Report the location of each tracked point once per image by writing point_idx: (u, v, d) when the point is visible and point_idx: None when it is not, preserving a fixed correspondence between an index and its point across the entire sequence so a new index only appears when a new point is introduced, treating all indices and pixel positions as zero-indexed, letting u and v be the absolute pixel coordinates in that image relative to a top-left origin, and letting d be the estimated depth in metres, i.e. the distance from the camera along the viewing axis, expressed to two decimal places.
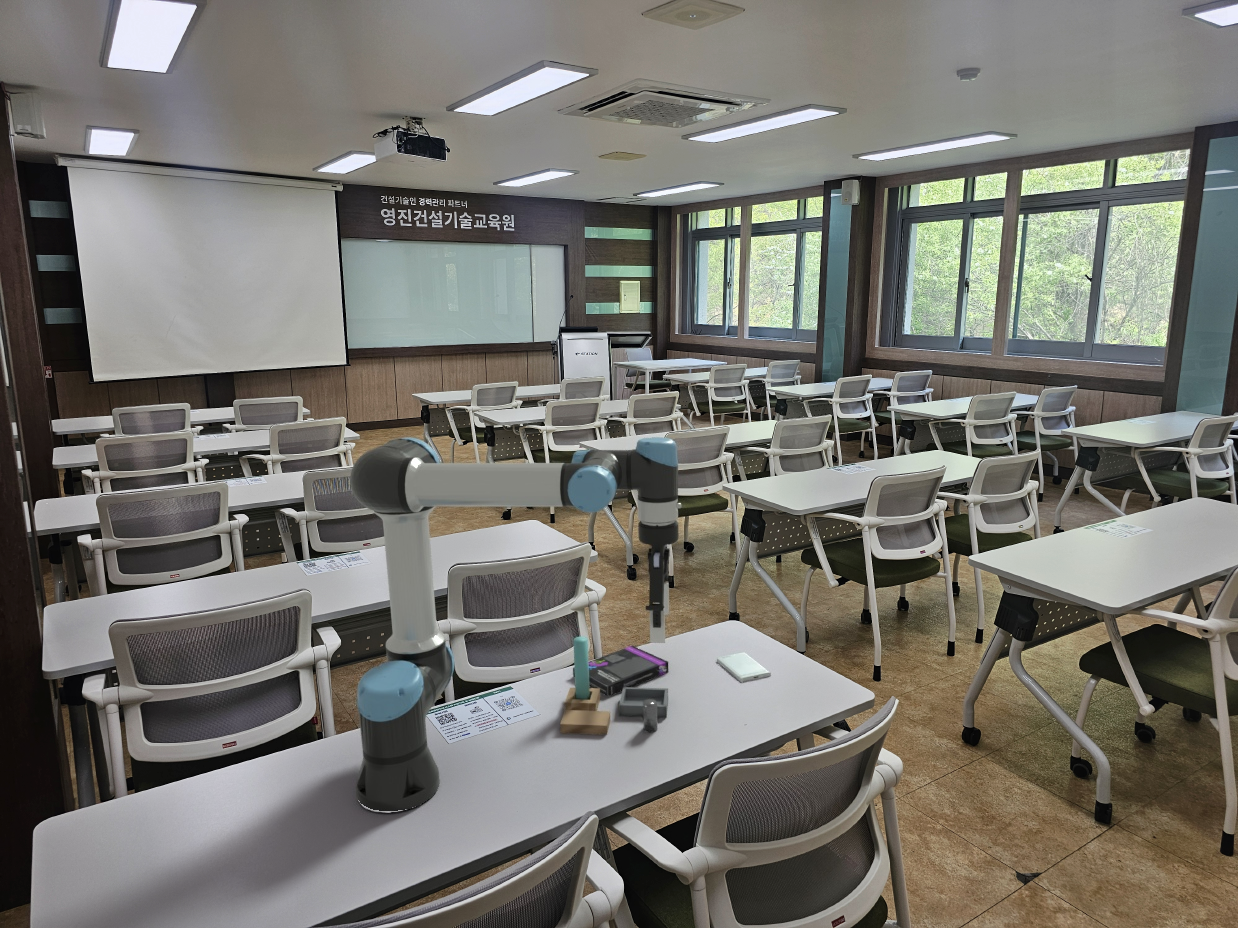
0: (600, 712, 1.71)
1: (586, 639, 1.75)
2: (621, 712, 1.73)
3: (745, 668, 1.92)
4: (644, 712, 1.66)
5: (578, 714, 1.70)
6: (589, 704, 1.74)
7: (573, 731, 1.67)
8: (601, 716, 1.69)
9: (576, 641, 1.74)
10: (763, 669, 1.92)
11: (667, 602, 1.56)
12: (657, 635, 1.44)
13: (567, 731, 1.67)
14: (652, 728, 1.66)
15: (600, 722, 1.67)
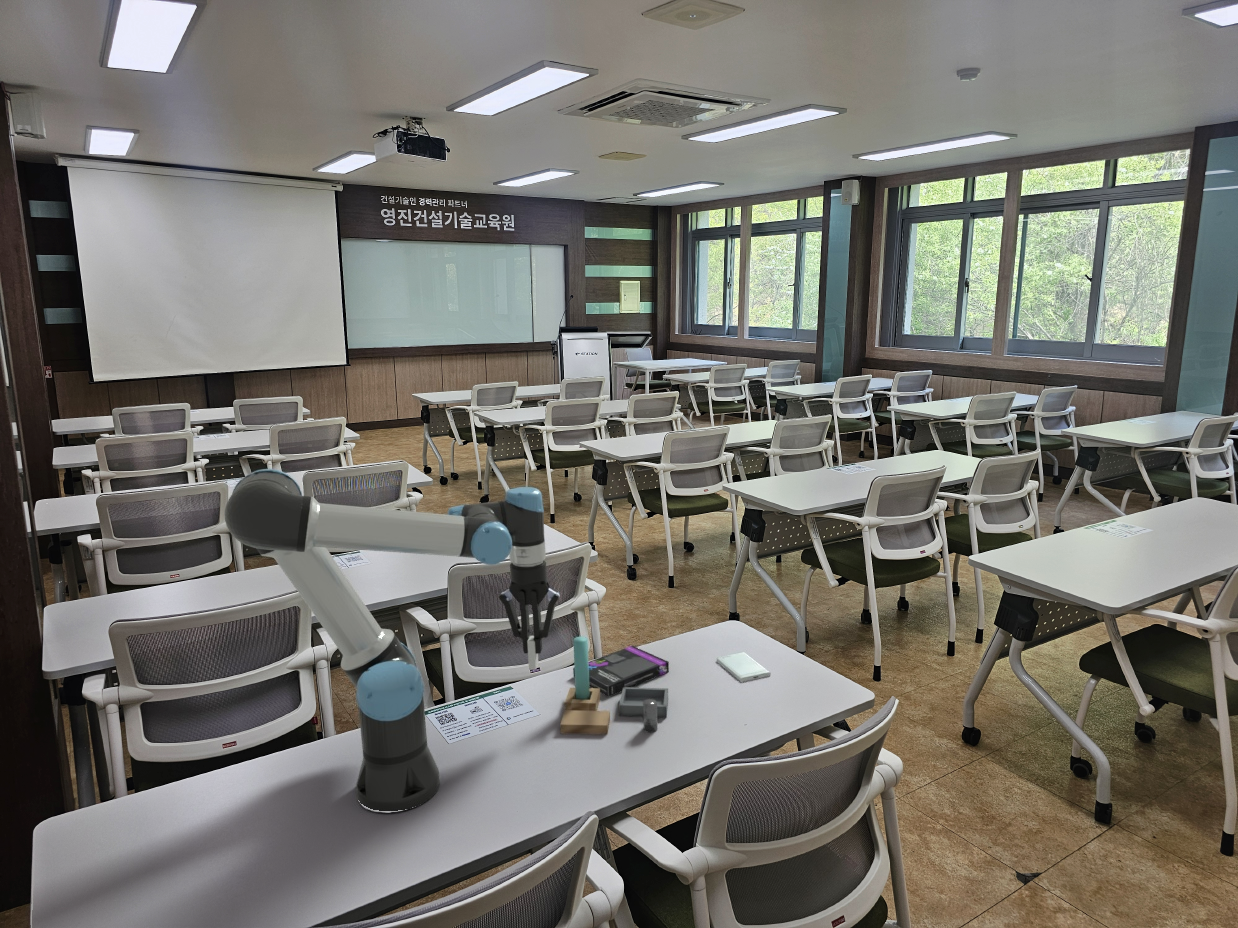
0: (600, 712, 1.71)
1: (586, 639, 1.75)
2: (621, 712, 1.73)
3: (745, 668, 1.92)
4: (644, 712, 1.66)
5: (578, 714, 1.70)
6: (589, 704, 1.74)
7: (574, 731, 1.67)
8: (601, 716, 1.69)
9: (576, 641, 1.74)
10: (763, 669, 1.92)
11: None
12: None
13: (567, 731, 1.67)
14: (652, 728, 1.66)
15: (600, 722, 1.67)
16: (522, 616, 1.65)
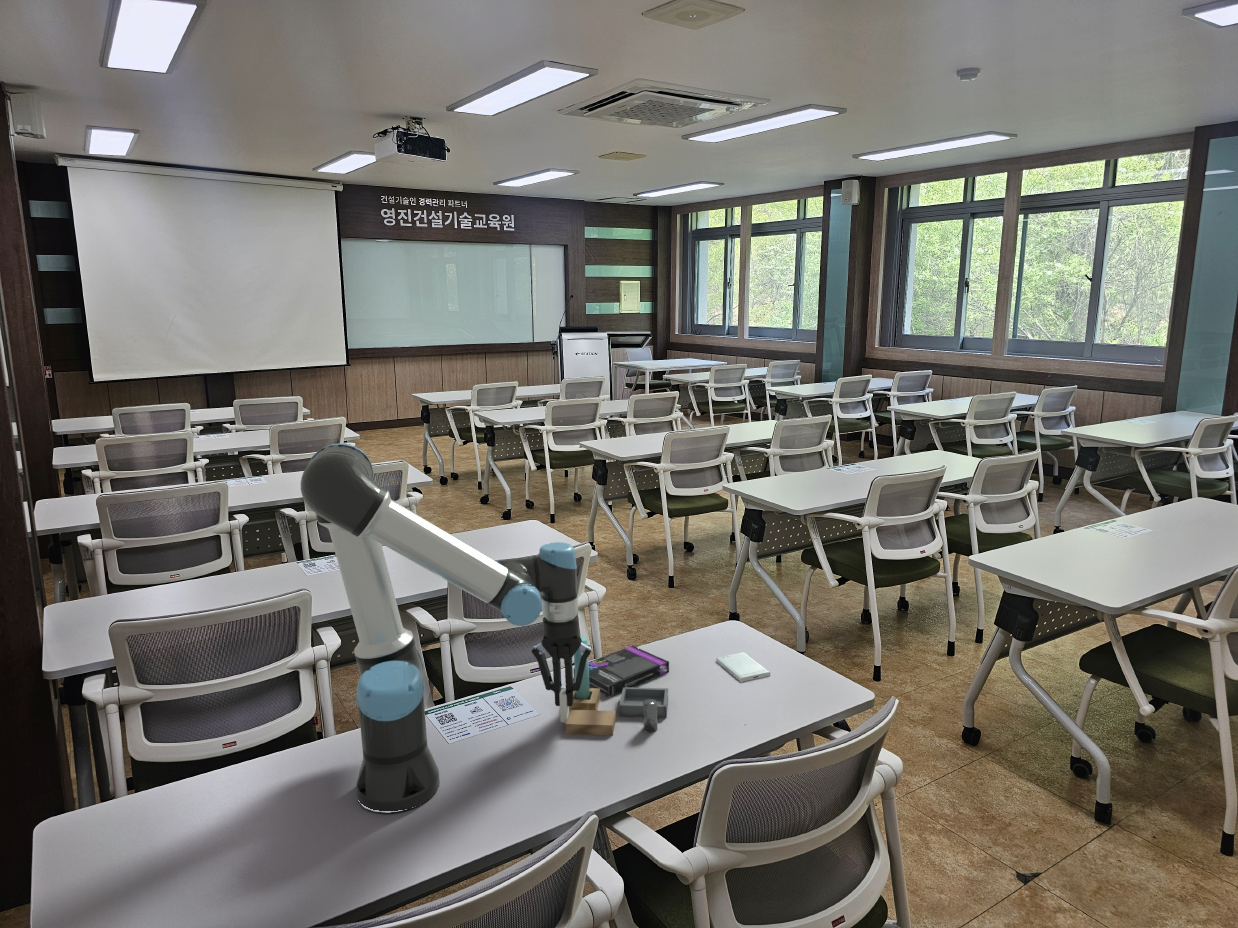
0: (605, 712, 1.71)
1: (586, 639, 1.75)
2: (621, 712, 1.73)
3: (744, 668, 1.92)
4: (644, 712, 1.66)
5: (583, 714, 1.70)
6: (589, 704, 1.74)
7: (579, 731, 1.66)
8: (606, 716, 1.69)
9: None
10: (763, 669, 1.92)
11: None
12: None
13: (572, 731, 1.66)
14: (652, 728, 1.66)
15: (605, 722, 1.66)
16: (554, 670, 1.66)
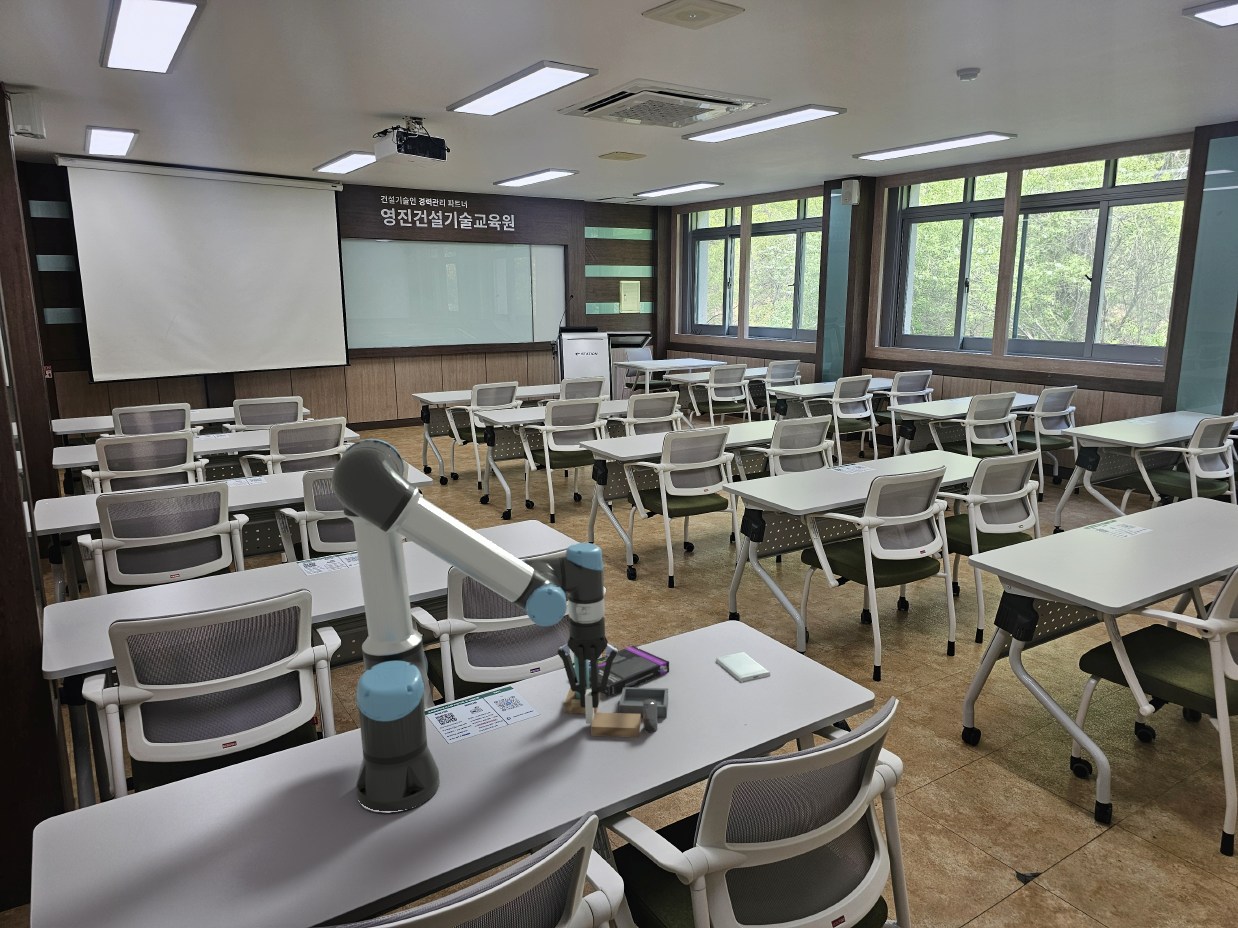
0: (630, 714, 1.70)
1: None
2: (621, 712, 1.73)
3: (744, 668, 1.92)
4: (644, 712, 1.66)
5: (608, 716, 1.69)
6: None
7: (604, 734, 1.65)
8: (631, 718, 1.68)
9: None
10: (763, 669, 1.92)
11: None
12: None
13: (598, 734, 1.66)
14: (652, 728, 1.66)
15: (631, 724, 1.66)
16: (580, 671, 1.66)
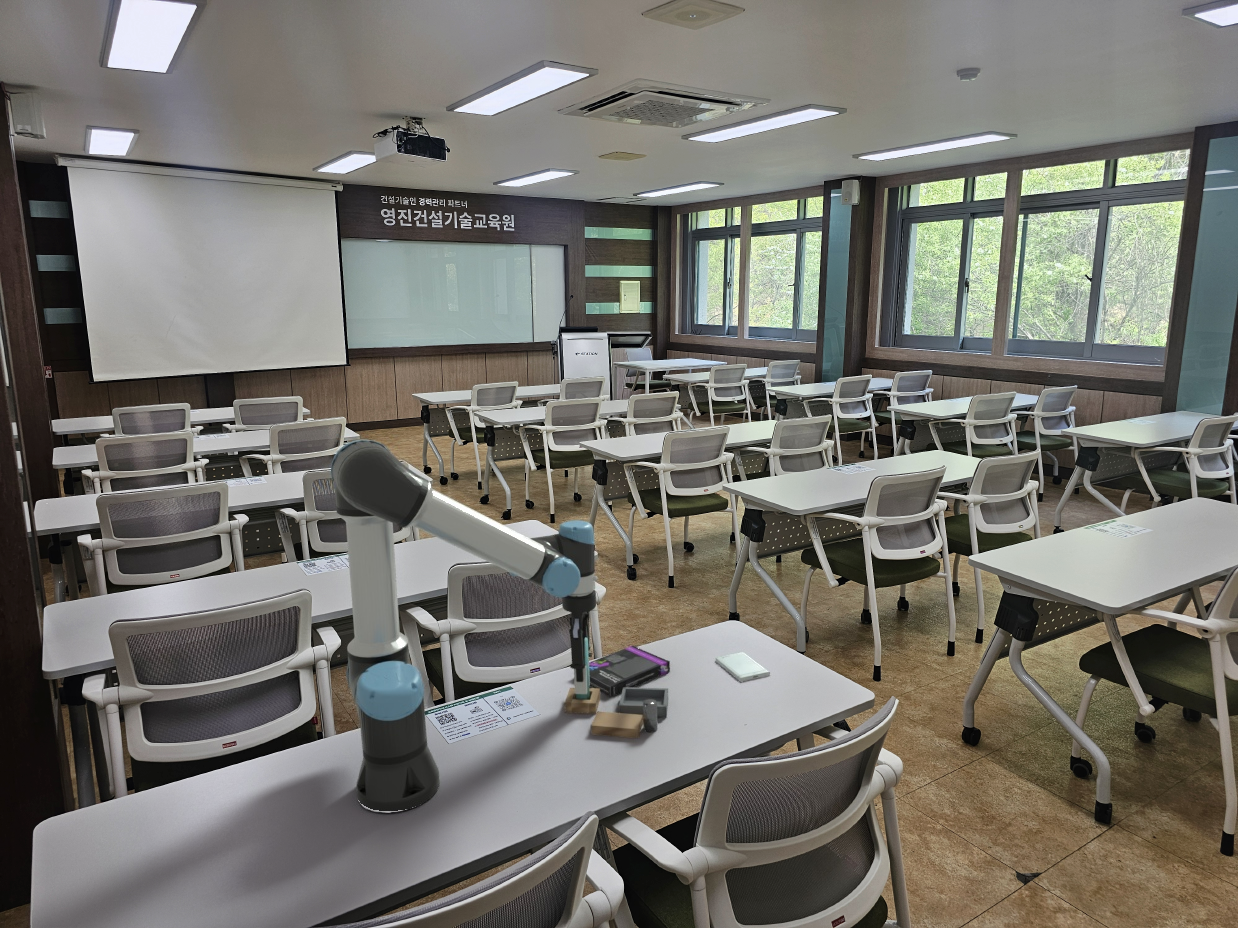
0: (632, 715, 1.69)
1: (586, 639, 1.75)
2: (621, 712, 1.73)
3: (744, 668, 1.93)
4: (644, 712, 1.66)
5: (610, 716, 1.69)
6: (589, 704, 1.74)
7: (604, 733, 1.66)
8: (632, 719, 1.68)
9: None
10: (762, 668, 1.92)
11: None
12: (580, 687, 1.75)
13: (598, 733, 1.66)
14: (652, 728, 1.66)
15: (631, 725, 1.65)
16: (584, 644, 1.73)
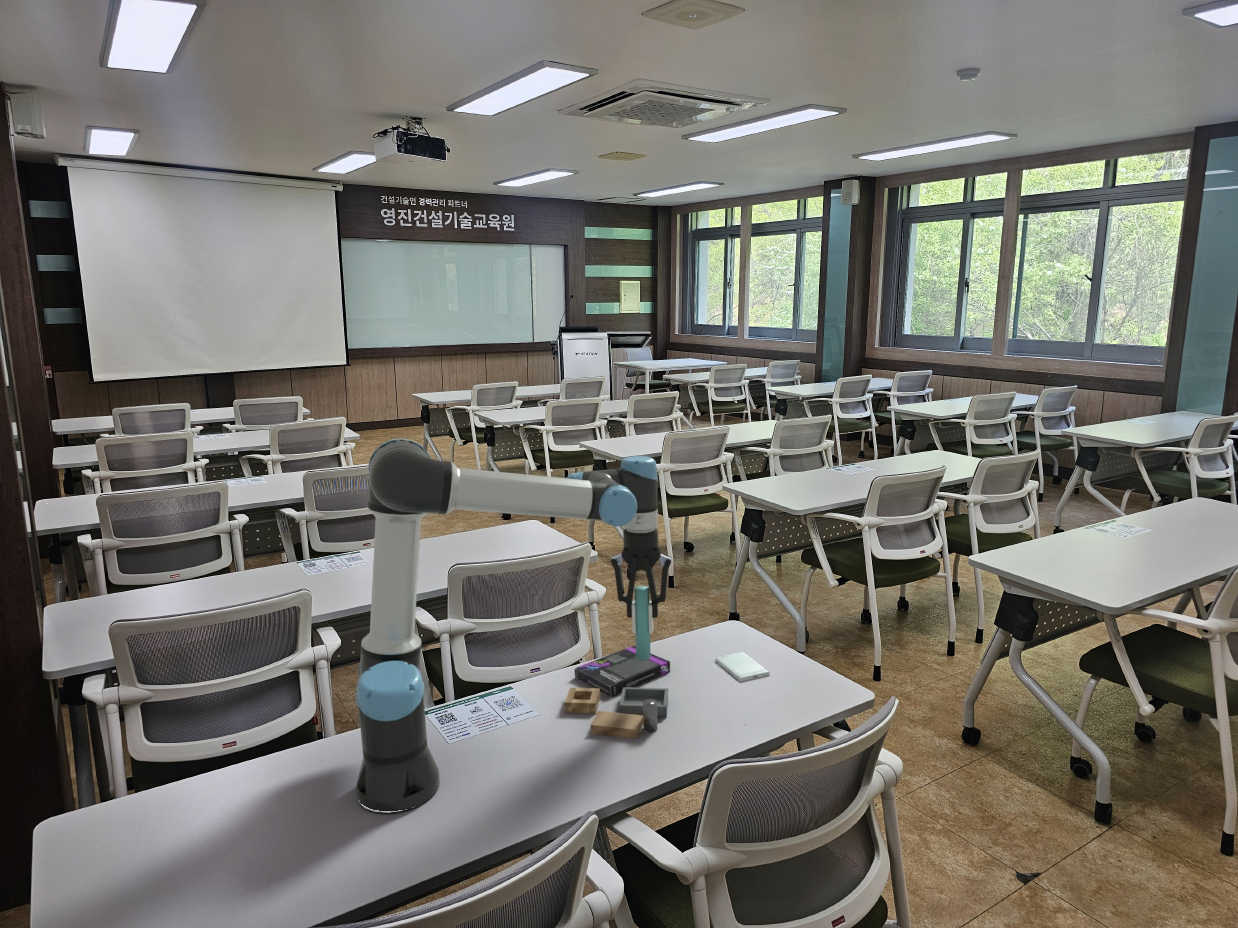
0: (633, 715, 1.69)
1: (641, 590, 1.70)
2: (621, 712, 1.73)
3: (744, 668, 1.93)
4: (644, 712, 1.66)
5: (610, 716, 1.69)
6: (589, 704, 1.74)
7: (604, 733, 1.66)
8: (632, 719, 1.68)
9: (636, 587, 1.72)
10: (762, 668, 1.92)
11: None
12: None
13: (598, 732, 1.66)
14: (652, 728, 1.66)
15: (630, 725, 1.65)
16: (630, 581, 1.70)
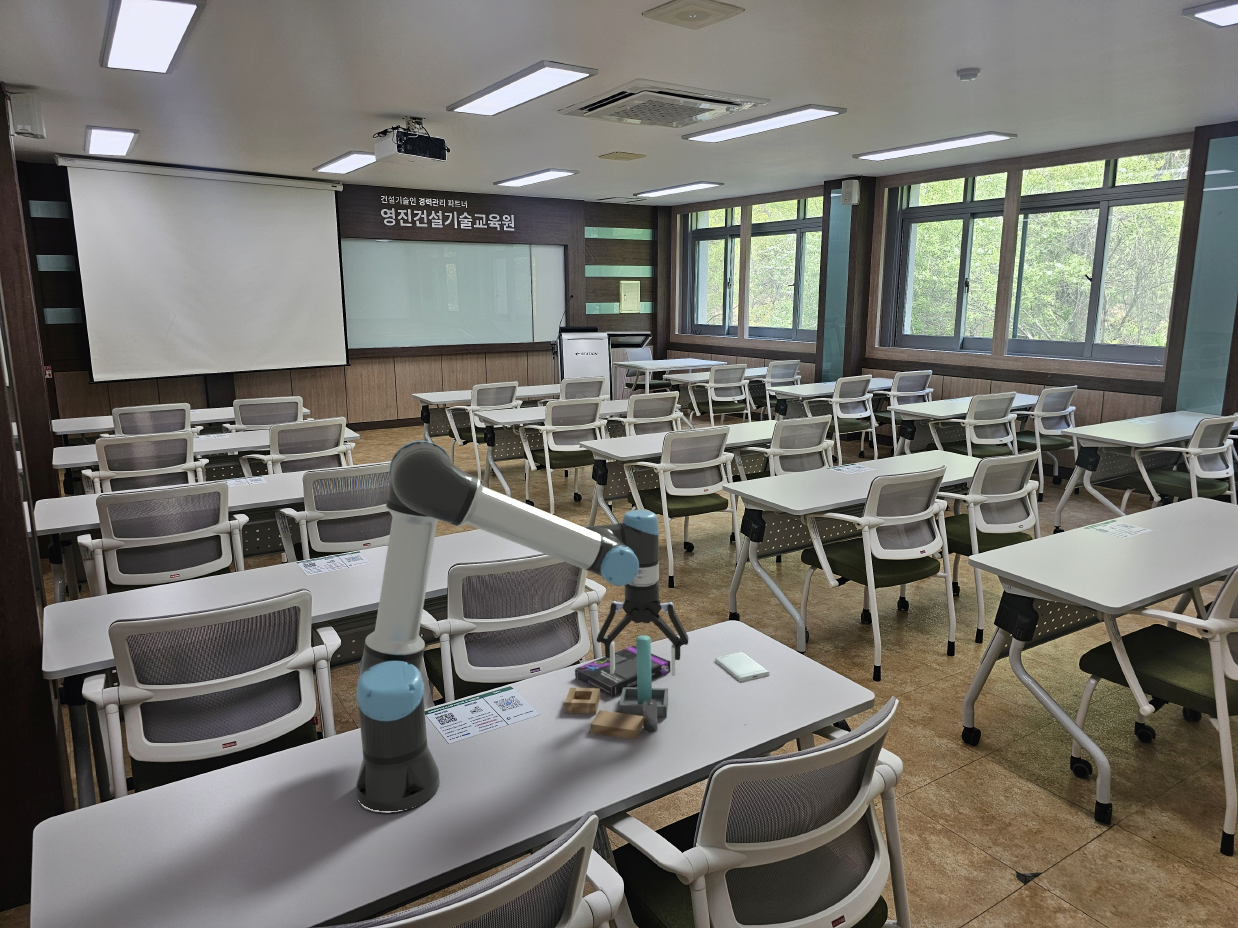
0: (633, 716, 1.69)
1: (643, 640, 1.72)
2: (621, 712, 1.73)
3: (744, 668, 1.93)
4: (644, 712, 1.66)
5: (611, 716, 1.69)
6: (589, 704, 1.74)
7: (603, 732, 1.66)
8: (632, 720, 1.67)
9: None
10: (762, 668, 1.92)
11: None
12: None
13: (597, 732, 1.66)
14: (652, 728, 1.66)
15: (629, 726, 1.65)
16: (619, 627, 1.72)
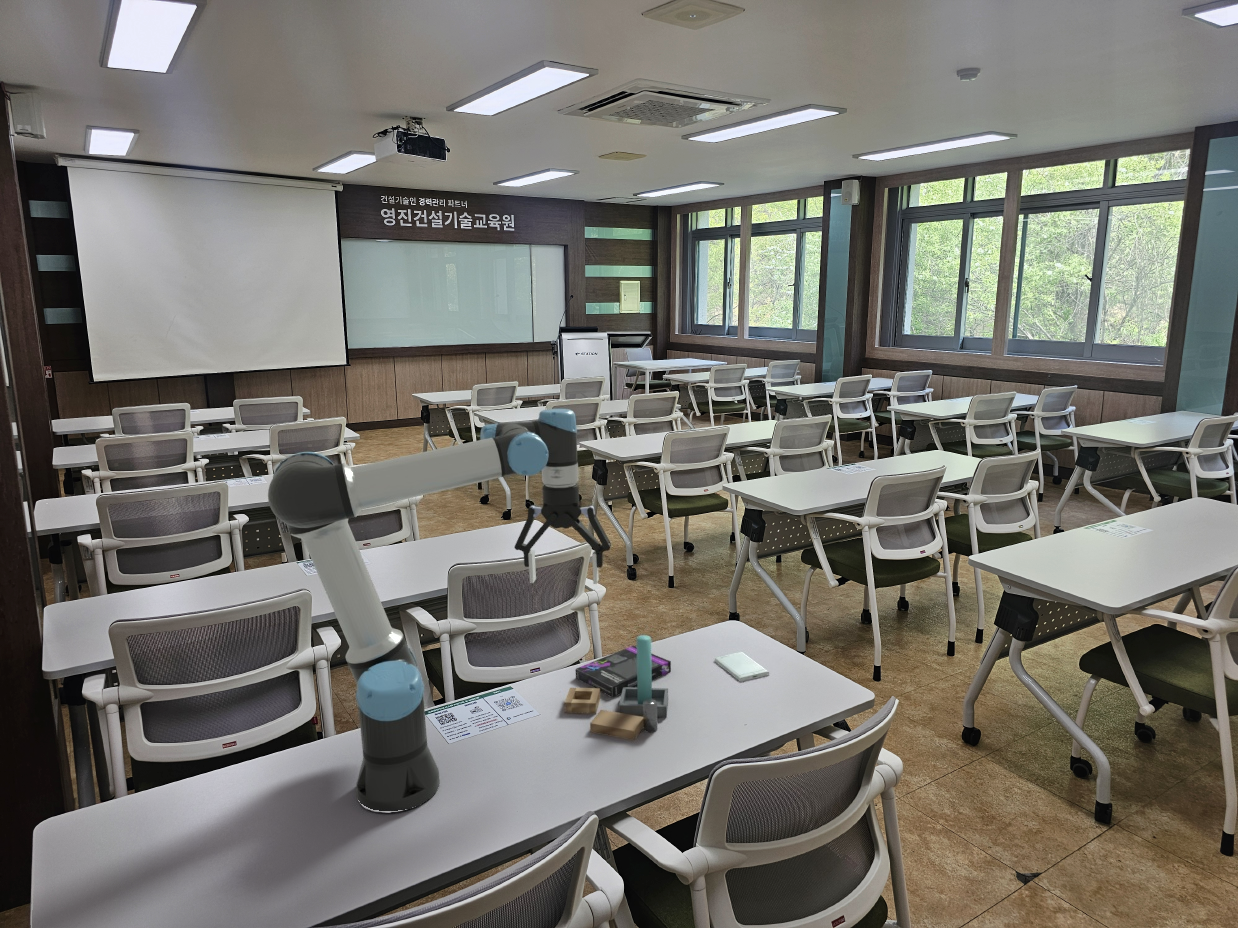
0: (633, 716, 1.69)
1: (643, 640, 1.72)
2: (621, 712, 1.73)
3: (743, 668, 1.93)
4: (644, 712, 1.66)
5: (611, 716, 1.69)
6: (589, 704, 1.74)
7: (602, 732, 1.66)
8: (632, 720, 1.67)
9: (638, 636, 1.74)
10: (761, 668, 1.92)
11: (593, 571, 1.64)
12: None
13: (596, 731, 1.67)
14: (652, 728, 1.66)
15: (629, 726, 1.65)
16: (538, 533, 1.64)
